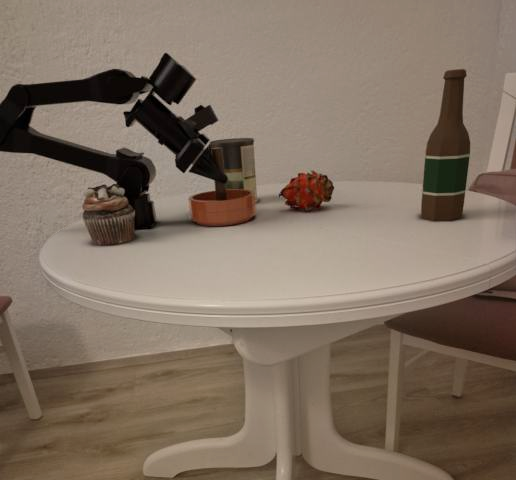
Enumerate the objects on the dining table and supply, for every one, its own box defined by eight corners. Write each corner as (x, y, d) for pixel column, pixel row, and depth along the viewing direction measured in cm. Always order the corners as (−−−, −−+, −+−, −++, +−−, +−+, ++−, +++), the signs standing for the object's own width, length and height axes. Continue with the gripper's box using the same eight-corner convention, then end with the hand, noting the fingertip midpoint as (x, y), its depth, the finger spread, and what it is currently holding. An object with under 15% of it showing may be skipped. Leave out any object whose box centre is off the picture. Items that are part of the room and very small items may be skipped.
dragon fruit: (339, 215, 104) (284, 227, 105) (331, 186, 108) (279, 198, 109) (338, 186, 96) (279, 199, 98) (329, 157, 100) (273, 170, 102)
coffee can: (225, 208, 111) (218, 143, 105) (210, 202, 120) (203, 141, 113) (265, 202, 115) (261, 138, 108) (247, 196, 123) (243, 137, 117)
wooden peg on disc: (220, 220, 96) (213, 150, 90) (201, 216, 101) (194, 149, 95) (244, 214, 100) (239, 146, 94) (225, 210, 104) (219, 146, 98)
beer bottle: (455, 222, 85) (473, 67, 74) (412, 219, 90) (423, 72, 79) (468, 213, 91) (486, 67, 80) (427, 210, 95) (439, 71, 84)
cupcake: (77, 245, 90) (63, 190, 85) (110, 232, 98) (100, 180, 93) (117, 247, 86) (105, 190, 82) (149, 234, 94) (140, 180, 89)
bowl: (189, 229, 95) (185, 203, 93) (194, 215, 107) (191, 192, 105) (257, 224, 95) (256, 198, 93) (254, 210, 107) (253, 187, 105)
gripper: (184, 88, 81) (254, 153, 86) (193, 90, 98) (251, 144, 103) (146, 141, 85) (215, 201, 90) (161, 135, 101) (218, 185, 106)
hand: (226, 180), depth 97 cm, fingers closed on wooden peg on disc, 2 cm apart
